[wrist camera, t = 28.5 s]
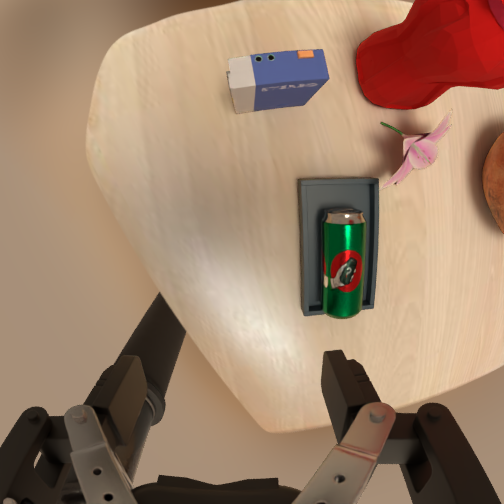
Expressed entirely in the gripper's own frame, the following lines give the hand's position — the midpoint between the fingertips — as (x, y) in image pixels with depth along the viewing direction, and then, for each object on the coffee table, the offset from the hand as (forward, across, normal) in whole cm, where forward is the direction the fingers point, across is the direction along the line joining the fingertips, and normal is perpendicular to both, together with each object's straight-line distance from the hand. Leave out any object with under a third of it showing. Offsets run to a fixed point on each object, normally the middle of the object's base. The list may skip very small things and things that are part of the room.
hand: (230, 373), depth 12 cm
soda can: (+22, -12, +9) cm, 26 cm away
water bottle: (+24, -20, -20) cm, 37 cm away
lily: (+24, -20, -11) cm, 33 cm away
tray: (+24, -12, +1) cm, 27 cm away
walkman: (+24, -4, -16) cm, 30 cm away
